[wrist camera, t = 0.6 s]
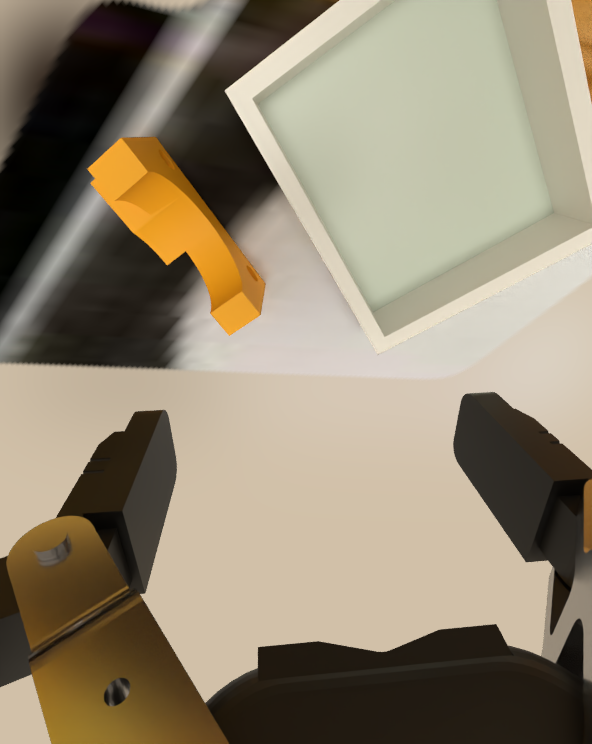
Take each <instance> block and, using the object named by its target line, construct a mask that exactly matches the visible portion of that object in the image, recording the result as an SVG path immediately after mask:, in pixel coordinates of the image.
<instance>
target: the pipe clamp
mask: <svg viewBox="0 0 592 744" xmlns="http://www.w3.org/2000/svg"><path fill="white" fill-rule="evenodd" d="M87 170H88V171H89V172H90V173H91V174H92V175H93V177H94V178H95V179H94V180H93V181H92V182H91V185H92V186H93V187H94V188H95V189H96V190H97V192H98V193H99V194H100V195H101V196H102V197H103V198H104V200H105V201H106V202H107V203H108V204H109V205H110V207H111V208H112V209H113V210H114V211H115V212H116V214H117V215H118V216H119V217H120V218H121V219H122V220H123V222H124V223H125V224H126V225H127V226H128V227H129V229H130V230H131V231H132V232H133V233H134V234H136V235H137V236H138V237H140V238H141V239H142V240H143V241H144V242H146V243H147V244H148V245H149V246H150V247H151V248H152V249H153V250H154V251H155V252H156V253H157V254H158V255H159V256H160V257H161V259H162V260H163V261H164V262H165V263H166V265H168V264H169V263H171V262H172V261H173V260H175V259H176V258H177V257H179V256H180V255H181V254H182V253H184V252H185V251H186V252H187V253H188V255H189V256H190V257H191V259H192V260H193V262H194V263H195V265H196V267H197V268H198V270H199V272H200V273H201V275H202V277H203V279H204V281H205V284H206V286H207V288H208V291H209V294H210V298H211V312H210V314H211V315H212V316H213V317H214V318H215V320H216V321H217V322H218V323H219V324H220V326H221V327H222V328H223V329H224V330H225V331H226V333H227V334H228V335H229V336H230V335H231V334H233V333H234V332H236V331H237V330H239V329H240V328H242V327H243V326H245V325H246V324H248V323H249V322H251V321H252V320H254V319H255V318H257V317H258V316H260V315H261V309H262V303H263V296H264V290H265V283H264V281H263V280H262V279H261V277H260V276H259V275H258V273H257V272H256V270H255V269H254V268H253V266H252V265H251V264H250V262H249V261H248V260H247V258H246V257H245V256H244V254H243V253H242V252H241V250H240V249H239V248H238V246H237V245H236V244H235V242H234V241H233V240H232V238H231V237H230V236H229V234H228V233H227V232H226V230H225V229H224V228H223V226H222V225H221V224H220V222H219V221H218V220H217V218H216V217H215V216H214V214H213V213H212V212H211V210H210V209H209V208H208V206H207V205H206V204H205V202H204V201H203V200H202V198H201V197H200V196H199V194H198V193H197V192H196V190H195V189H194V188H193V186H192V185H191V184H190V182H189V181H188V180H187V178H186V177H185V176H184V174H183V173H182V171H181V170H180V169H179V167H178V166H177V165H176V163H175V162H174V161H173V159H172V158H171V157H170V155H169V154H168V153H167V151H166V150H165V149H164V147H163V146H162V145H161V143H160V142H159V141H158V139H157V138H156V137H132V138H120V139H119V140H118V141H117V142H116V143H115V144H114V145H113V146H112V147H111V148H110V149H108V150H107V151H106V152H105V153H104V154H103V155H102V156H101V157H100V158H99V159H98V160H97V161H96V162H94V163H93V164H92V165H91V166H90V167H89V168H88V169H87Z"/></svg>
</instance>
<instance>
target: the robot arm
mask: <svg viewBox="0 0 592 744" xmlns="http://www.w3.org/2000/svg"><path fill="white" fill-rule="evenodd" d="M453 445H454V454H455V457H456V460H457V462H458V464H459V465H460V467H461V468H462V470H463V471H464V472H465V474H466V475H467V477H468V478H469V480H470V481H471V483H472V484H473V486H474V487H475V489H476V490H477V491H478V493H479V494H480V496H481V497H482V499H483V500H484V502H485V503H486V505H487V506H488V507H489V509H490V510H491V512H492V513H493V515H494V516H495V517H496V519H497V520H498V522H499V523H500V525H501V526H502V528H503V529H504V531H505V532H506V534H507V535H508V536H509V538H510V539H511V541H512V542H513V544H514V545H515V547H516V548H517V550H518V551H519V552H520V554H521V555H522V557H523V558H524V560H525V561H526V562H534V561H546V560H548V561H549V562H550V563H551V565H552V566H553V568H552V571H551V573H550V576H549V584H548V595H547V606H546V618H545V630H544V641H543V650H542V655H541V656H539V655H536V654H534V653H531V652H529V651H526V650H522V649H519V648H515V647H512V646H507V644H506V642H505V640H504V638H503V636H502V634H501V632H500V631H499V628H498V627H497V625H496V624H494V625H483V626H473V627H463V628H452V629H442V630H438V631H435V632H433V633H430V634H428V635H426V636H423V637H421V638H419V639H416V640H414V641H412V642H409V643H407V644H404V645H402V646H400V647H397V648H395V649H393V650H390V651H387V652H376V651H370V650H364V649H359V648H353V647H347V646H341V645H336V644H330V643H324V642H319V641H318V642H307V643H297V644H286V645H276V646H265V647H258V668H257V669H255V670H252V671H250V672H248V673H245V674H244V675H242V676H240V677H238V678H237V679H235V680H233V681H231V682H230V683H229V684H228V685H226V686H225V687H223V688H222V689H220V690H219V691H218V692H217V693H216V694H215V695H213V696H212V697H211V698H210V699H209V700H208V701H207V702H206V703H205V702H204V701H203V699H202V697H201V696H200V694H199V692H198V691H197V689H196V687H195V685H194V684H193V682H192V680H191V679H190V677H189V675H188V674H187V672H186V670H185V669H184V667H183V665H182V664H181V662H180V660H179V659H178V657H177V656H176V654H175V652H174V650H173V649H172V647H171V645H170V644H169V642H168V640H167V638H166V637H165V635H164V634H163V632H162V630H161V628H160V627H159V625H158V624H157V622H156V620H155V618H154V617H153V615H152V613H151V612H150V610H149V608H148V607H147V605H146V603H145V602H144V600H143V598H142V597H141V595H140V594H144V593H145V592H146V589H147V585H148V581H149V578H150V574H151V570H152V566H153V563H154V559H155V555H156V552H157V547H158V544H159V540H160V537H161V533H162V529H163V526H164V522H165V518H166V514H167V511H168V507H169V503H170V499H171V496H172V492H173V488H174V484H175V480H176V472H177V463H176V456H175V450H174V444H173V439H172V433H171V428H170V423H169V417H168V414H167V412H166V411H165V410H156V411H138V412H135V413H134V414H133V416H132V418H131V420H130V422H129V424H128V426H127V428H126V430H125V431H121V432H114V433H112V434H111V435H110V436H109V437H108V438H107V439H105V440H104V441H103V442H101V443H100V444H99V445H98V447H97V449H96V450H95V452H94V454H93V455H92V457H91V459H90V462H88V464H87V466H86V467H85V469H84V471H83V474H81V476H80V477H79V479H78V481H77V483H76V484H75V486H74V488H73V489H72V491H71V493H70V494H69V496H68V498H67V500H66V501H65V503H64V505H63V506H62V508H61V510H60V512H59V513H58V515H57V517H56V518H55V519H52V520H49V521H47V522H44V523H42V524H40V525H38V526H36V527H34V528H33V529H31V530H30V531H28V532H27V533H26V534H25V535H23V536H22V537H21V538H20V539H19V540H18V541H17V542H16V544H15V545H14V546H13V547H12V549H11V550H10V552H9V555H8V556H6V557H4V558H0V687H1V686H4V685H7V684H9V683H11V682H14V681H16V680H19V679H21V678H24V677H26V676H29V675H31V674H32V677H33V680H34V684H35V687H36V691H37V694H38V698H39V701H40V705H41V709H42V712H43V716H44V719H45V723H46V726H47V730H48V734H49V737H50V741H51V744H592V470H591V469H590V468H589V467H588V466H587V465H586V464H585V463H584V462H582V461H581V460H580V459H579V458H578V457H577V456H576V455H575V454H573V453H572V452H571V451H570V450H569V449H568V448H566V447H565V446H564V445H563V444H560V443H559V440H558V439H557V438H556V437H554V436H553V435H552V434H551V433H550V434H549V433H548V431H547V429H545V428H544V427H543V426H542V425H541V424H540V423H539V422H538V421H536V420H535V419H534V418H532V417H530V416H528V415H526V414H524V413H522V412H520V411H519V410H517V409H513V408H512V407H511V406H510V405H509V404H508V403H507V402H506V401H504V400H503V399H502V398H501V397H500V396H499V395H498V394H497V393H495V392H489V393H470V394H465V395H464V396H463V398H462V400H461V405H460V410H459V415H458V420H457V426H456V431H455V436H454V443H453Z"/></svg>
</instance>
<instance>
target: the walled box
mask: <svg viewBox="0 0 592 744" xmlns="http://www.w3.org/2000/svg"><path fill="white" fill-rule="evenodd" d="M225 92H226V94H227V96H228V97H229V99H230V101H231V102H232V104H233V106H234V108H235V109H236V111H237V113H238V115H239V116H240V118H241V120H242V121H243V123H244V125H245V127H246V128H247V130H248V132H249V134H250V135H251V137H252V139H253V140H254V142H255V144H256V146H257V147H258V149H259V151H260V152H261V154H262V156H263V158H264V159H265V161H266V163H267V165H268V166H269V168H270V170H271V171H272V173H273V175H274V177H275V178H276V180H277V182H278V184H279V185H280V187H281V189H282V190H283V192H284V194H285V196H286V197H287V199H288V201H289V203H290V204H291V206H292V208H293V209H294V211H295V213H296V215H297V216H298V218H299V220H300V221H301V223H302V225H303V227H304V228H305V230H306V232H307V234H308V235H309V237H310V239H311V240H312V242H313V244H314V246H315V247H316V249H317V251H318V253H319V254H320V256H321V258H322V259H323V261H324V263H325V265H326V266H327V268H328V270H329V271H330V273H331V275H332V277H333V278H334V280H335V282H336V284H337V285H338V287H339V289H340V290H341V292H342V294H343V296H344V297H345V299H346V301H347V303H348V304H349V306H350V308H351V309H352V311H353V313H354V315H355V316H356V318H357V320H358V322H359V323H360V325H361V327H362V328H363V330H364V332H365V334H366V335H367V337H368V339H369V340H370V342H371V344H372V346H373V347H374V349H375V351H376V353H377V354H380V353H382V352H384V351H386V350H388V349H390V348H392V347H394V346H396V345H398V344H400V343H402V342H404V341H405V340H407V339H409V338H411V337H413V336H415V335H417V334H419V333H421V332H423V331H425V330H427V329H429V328H431V327H432V326H434V325H436V324H438V323H440V322H442V321H444V320H446V319H448V318H450V317H452V316H454V315H456V314H458V313H460V312H461V311H463V310H465V309H467V308H469V307H471V306H473V305H475V304H477V303H479V302H481V301H483V300H485V299H487V298H488V297H490V296H492V295H494V294H496V293H498V292H500V291H502V290H504V289H506V288H508V287H510V286H512V285H514V284H516V283H517V282H519V281H521V280H523V279H525V278H527V277H529V276H531V275H533V274H535V273H537V272H539V271H541V270H543V269H544V268H546V267H548V266H550V265H552V264H554V263H556V262H558V261H560V260H562V259H564V258H566V257H568V256H570V255H572V254H573V253H575V252H577V251H579V250H581V249H583V248H585V247H587V246H589V245H591V244H592V104H591V99H590V94H589V89H588V83H587V78H586V73H585V68H584V63H583V58H582V53H581V48H580V43H579V38H578V33H577V28H576V23H575V18H574V13H573V8H572V3H571V0H339V1H338V2H337V3H336V4H334V5H333V6H332V7H330V8H329V9H328V10H327V11H325V12H324V13H323V14H322V15H320V16H319V17H318V18H316V19H315V20H314V21H313V22H311V23H310V24H309V25H308V26H306V27H305V28H304V29H302V30H301V31H300V32H299V33H297V34H296V35H295V36H294V37H292V38H291V39H290V40H288V41H287V42H286V43H285V44H283V45H282V46H281V47H280V48H278V49H277V50H276V51H274V52H273V53H272V54H271V55H269V56H268V57H267V58H266V59H264V60H263V61H262V62H260V63H259V64H258V65H257V66H255V67H254V68H253V69H252V70H250V71H249V72H248V73H246V74H245V75H244V76H243V77H241V78H240V79H239V80H238V81H236V82H235V83H234V84H232V85H231V86H230V87H229V88H227V89H226V90H225Z"/></svg>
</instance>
